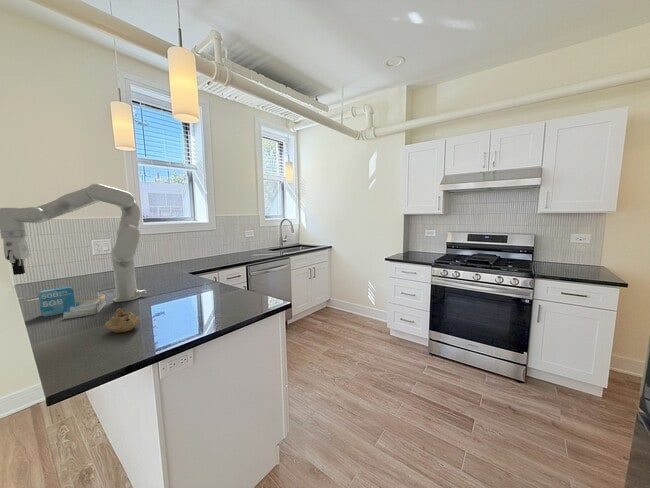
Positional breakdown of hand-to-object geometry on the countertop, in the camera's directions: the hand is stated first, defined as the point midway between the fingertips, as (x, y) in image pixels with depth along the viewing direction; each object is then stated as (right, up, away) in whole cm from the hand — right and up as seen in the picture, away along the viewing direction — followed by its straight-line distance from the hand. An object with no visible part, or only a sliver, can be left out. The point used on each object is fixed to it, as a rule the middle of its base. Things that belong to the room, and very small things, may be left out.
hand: (19, 274), depth 125 cm
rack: (+23, -20, +10) cm, 32 cm away
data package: (+11, -20, +8) cm, 24 cm away
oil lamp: (+62, -21, -16) cm, 67 cm away
